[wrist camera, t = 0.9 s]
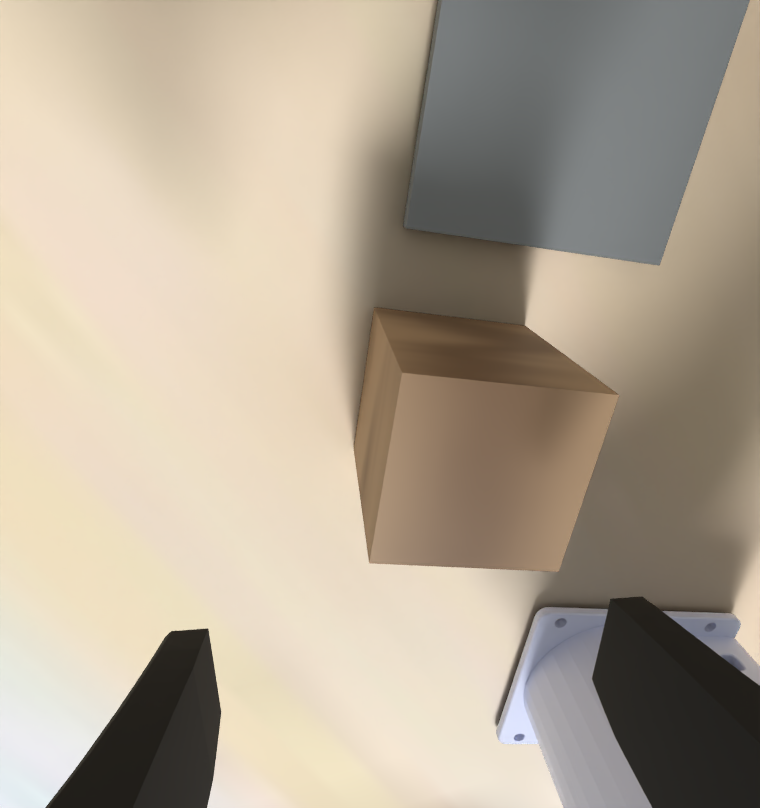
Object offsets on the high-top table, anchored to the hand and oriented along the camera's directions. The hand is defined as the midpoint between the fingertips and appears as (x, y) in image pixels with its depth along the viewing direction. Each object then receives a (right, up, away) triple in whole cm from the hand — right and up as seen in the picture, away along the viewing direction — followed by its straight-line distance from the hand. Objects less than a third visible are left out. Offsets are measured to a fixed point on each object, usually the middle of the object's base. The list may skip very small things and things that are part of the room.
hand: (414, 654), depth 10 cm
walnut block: (+1, +5, +8) cm, 10 cm away
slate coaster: (+5, +13, +5) cm, 15 cm away
